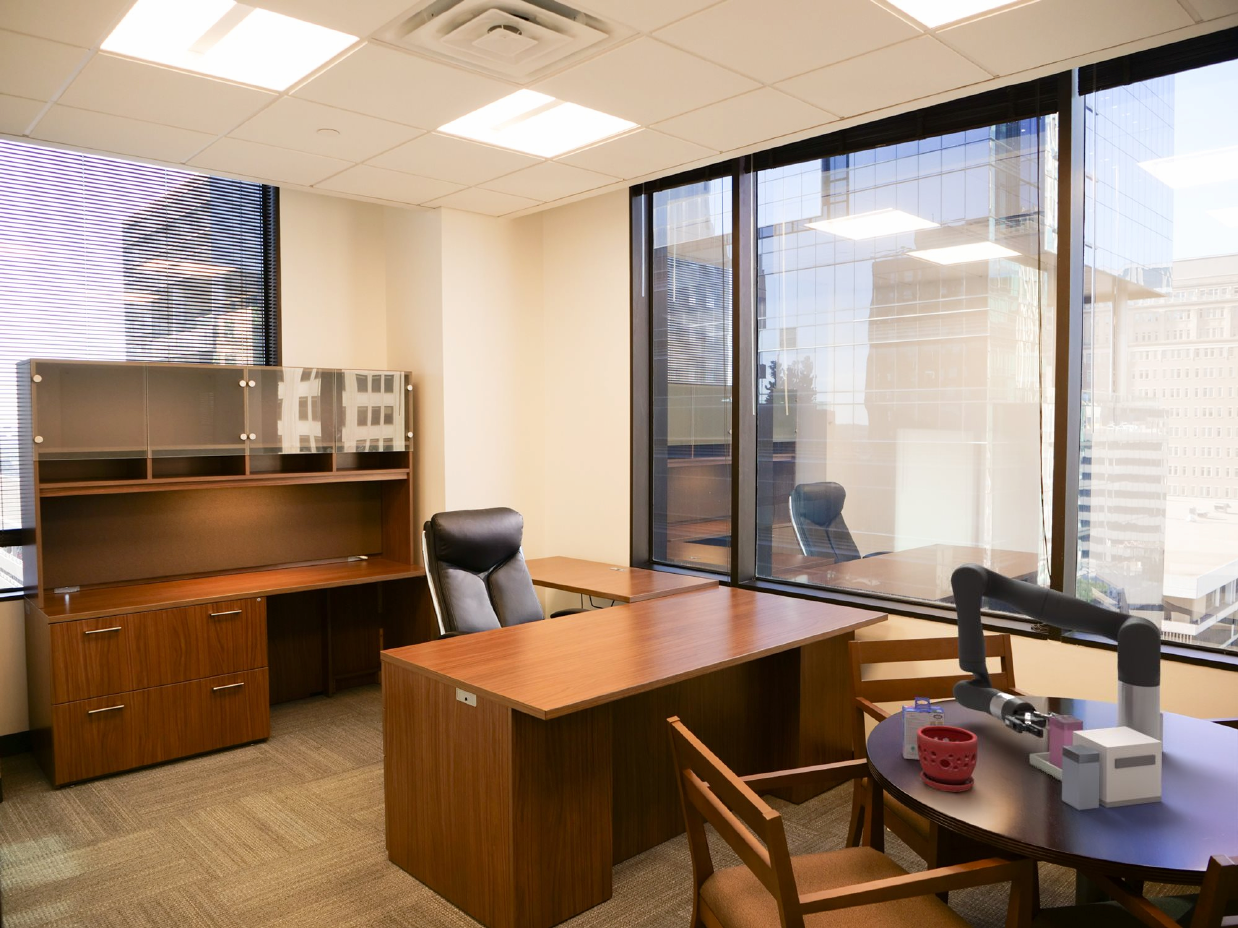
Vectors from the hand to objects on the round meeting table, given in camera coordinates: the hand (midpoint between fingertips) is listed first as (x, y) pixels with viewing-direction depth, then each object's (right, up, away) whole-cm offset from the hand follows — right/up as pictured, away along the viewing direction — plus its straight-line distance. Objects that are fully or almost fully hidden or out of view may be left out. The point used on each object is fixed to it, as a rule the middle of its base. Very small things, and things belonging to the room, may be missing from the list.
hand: (1057, 732), depth 203 cm
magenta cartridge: (+1, -8, -3) cm, 8 cm away
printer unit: (+5, -9, -16) cm, 19 cm away
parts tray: (+1, -8, -3) cm, 9 cm away
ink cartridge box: (-30, -9, +7) cm, 32 cm away
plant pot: (-31, -9, -9) cm, 33 cm away
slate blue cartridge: (-6, -9, -20) cm, 23 cm away
